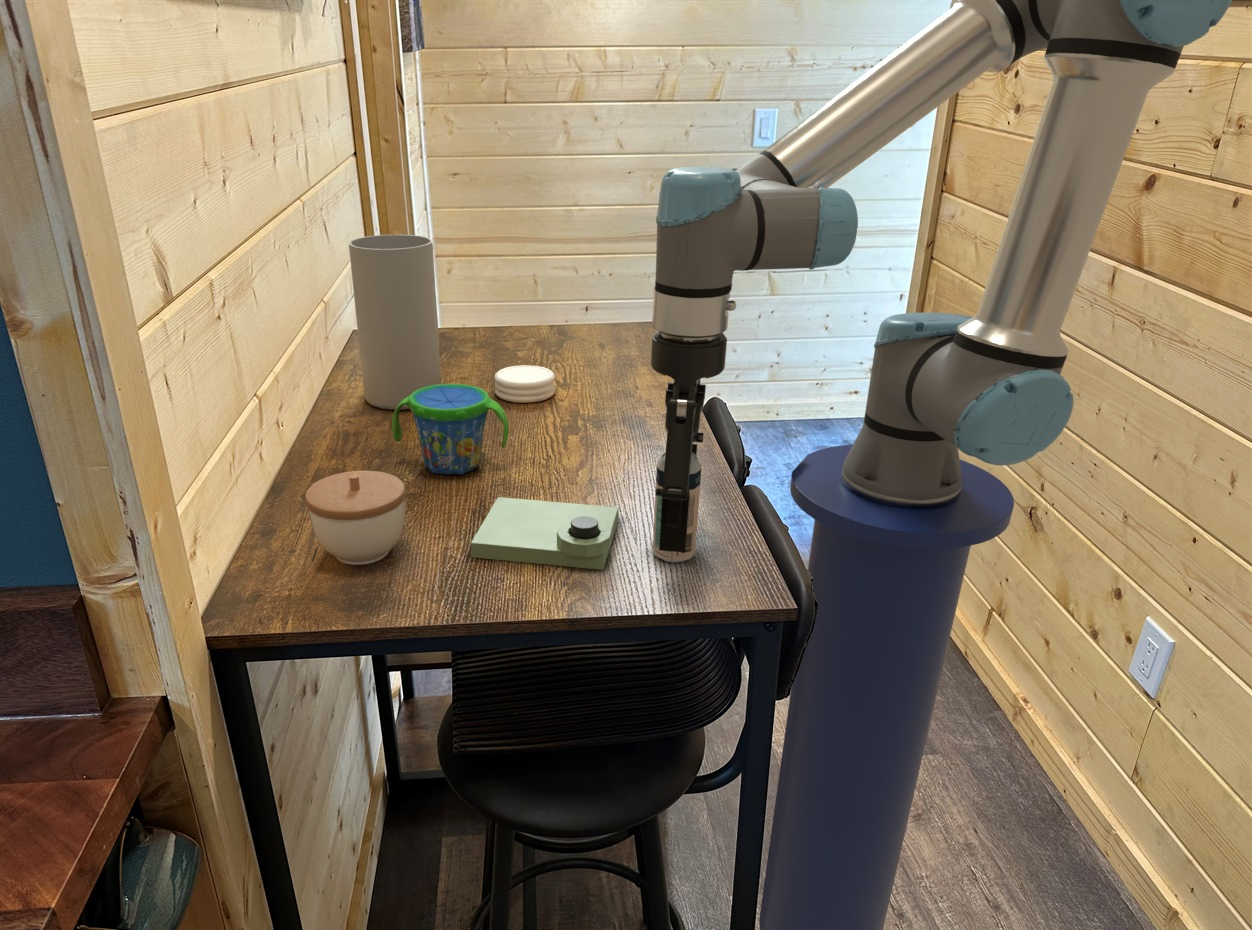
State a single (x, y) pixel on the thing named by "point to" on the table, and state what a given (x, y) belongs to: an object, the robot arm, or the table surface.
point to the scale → (544, 533)
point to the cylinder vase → (395, 316)
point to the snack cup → (450, 425)
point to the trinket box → (357, 514)
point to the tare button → (584, 528)
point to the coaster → (524, 384)
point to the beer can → (692, 512)
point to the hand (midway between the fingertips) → (677, 521)
